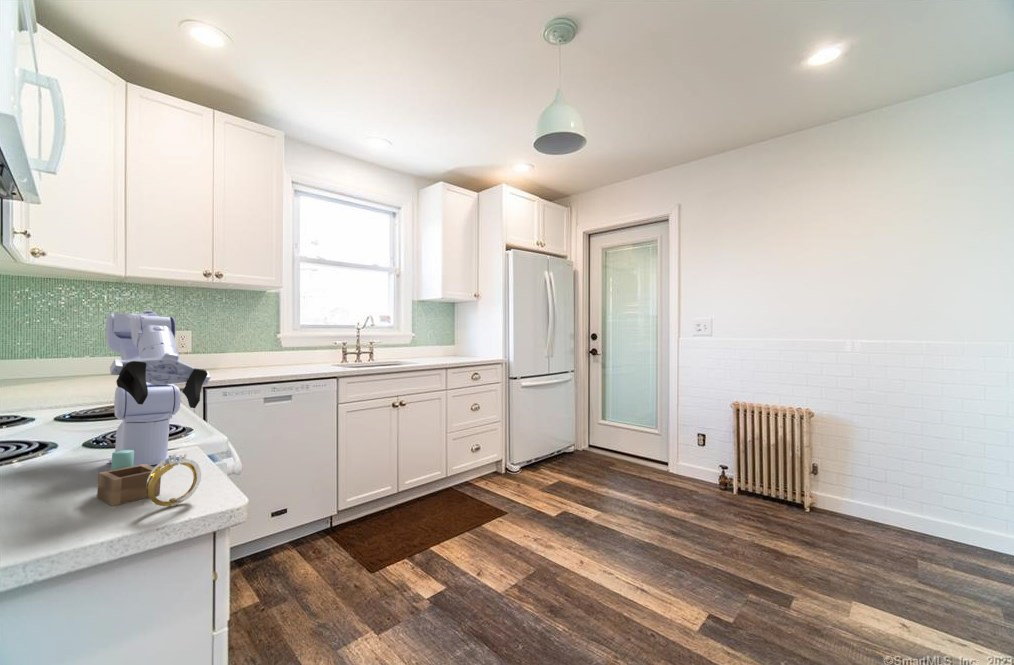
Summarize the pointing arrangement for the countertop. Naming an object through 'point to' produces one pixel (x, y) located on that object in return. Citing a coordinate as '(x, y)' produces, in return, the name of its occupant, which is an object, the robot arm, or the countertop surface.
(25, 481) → the countertop surface
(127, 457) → the teal cylinder
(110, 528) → the countertop surface
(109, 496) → the bead block
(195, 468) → the ring
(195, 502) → the countertop surface
